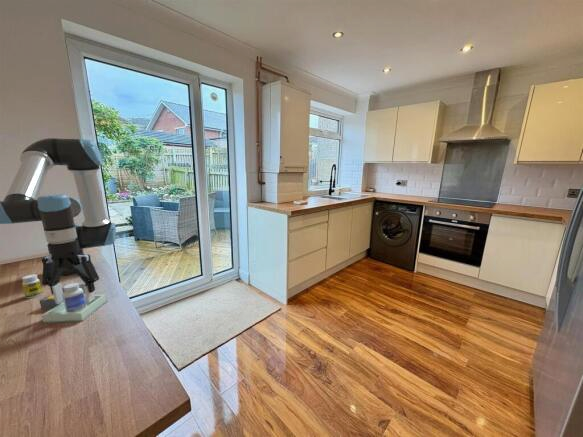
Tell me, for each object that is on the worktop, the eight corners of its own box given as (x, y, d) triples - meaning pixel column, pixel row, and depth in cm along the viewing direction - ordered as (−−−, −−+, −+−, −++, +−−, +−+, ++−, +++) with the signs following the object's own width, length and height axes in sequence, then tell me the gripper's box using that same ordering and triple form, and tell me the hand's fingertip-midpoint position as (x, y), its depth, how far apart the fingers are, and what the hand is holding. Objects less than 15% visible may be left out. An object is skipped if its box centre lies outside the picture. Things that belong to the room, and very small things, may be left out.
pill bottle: (90, 307, 86) (85, 282, 84) (72, 316, 81) (66, 290, 79) (80, 304, 88) (75, 280, 86) (62, 312, 83) (57, 287, 81)
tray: (73, 303, 90) (72, 296, 90) (107, 301, 91) (106, 294, 91) (43, 323, 78) (41, 315, 78) (82, 321, 79) (80, 313, 79)
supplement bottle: (31, 299, 94) (26, 279, 92) (22, 298, 95) (17, 278, 93) (45, 293, 98) (41, 274, 97) (37, 292, 99) (32, 273, 98)
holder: (68, 292, 98) (66, 283, 97) (86, 291, 99) (84, 283, 98) (41, 309, 87) (38, 299, 86) (61, 307, 87) (59, 298, 86)
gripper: (15, 245, 75) (31, 309, 79) (89, 242, 77) (101, 305, 81) (38, 238, 82) (52, 297, 87) (105, 236, 84) (115, 294, 88)
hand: (75, 301), depth 84 cm, fingers open, 9 cm apart
